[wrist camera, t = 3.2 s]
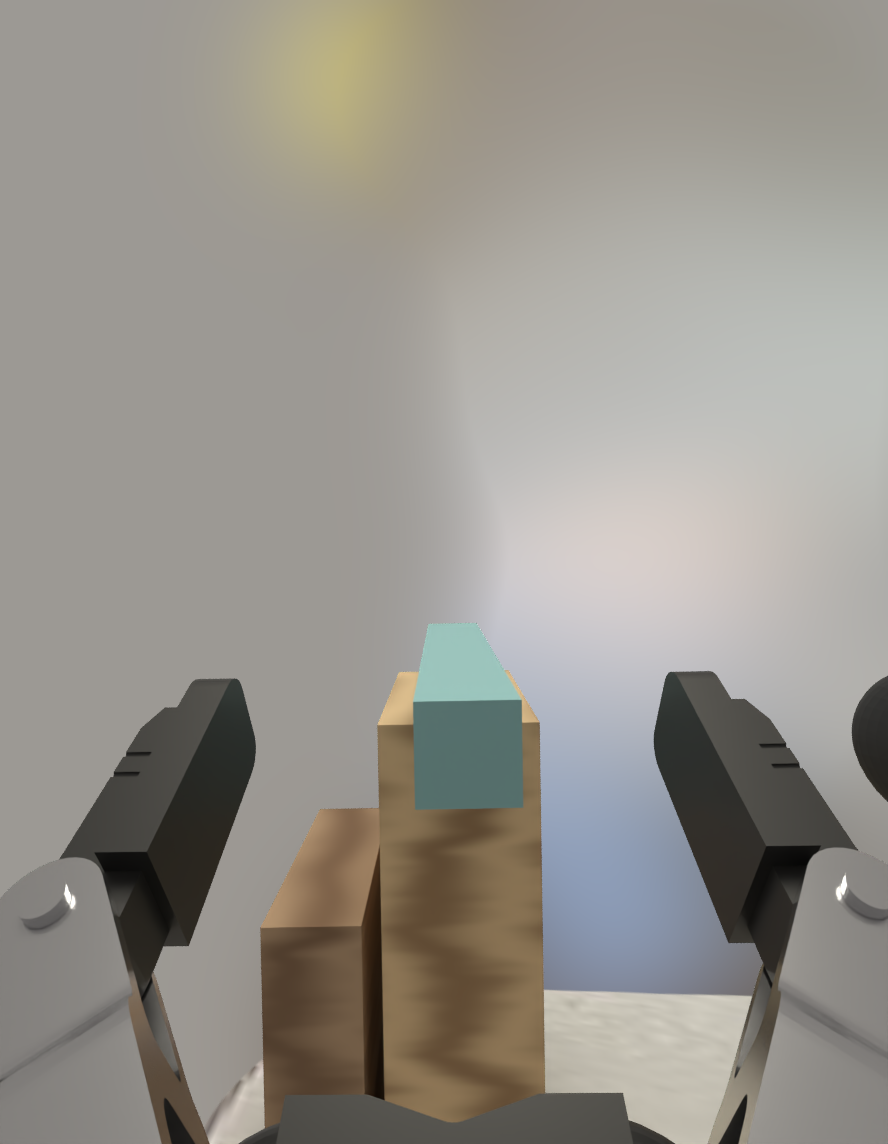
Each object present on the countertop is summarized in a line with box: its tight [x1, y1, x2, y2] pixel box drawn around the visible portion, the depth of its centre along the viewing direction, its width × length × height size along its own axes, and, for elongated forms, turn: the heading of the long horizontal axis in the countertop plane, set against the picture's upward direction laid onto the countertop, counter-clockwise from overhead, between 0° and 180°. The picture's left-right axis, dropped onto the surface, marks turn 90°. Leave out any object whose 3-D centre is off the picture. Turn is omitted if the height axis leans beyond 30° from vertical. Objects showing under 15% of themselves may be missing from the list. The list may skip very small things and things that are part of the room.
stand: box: [378, 670, 545, 1122], centre depth 36 cm, size 8×14×32 cm, turn 0°
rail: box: [413, 623, 523, 810], centre depth 31 cm, size 4×24×4 cm, turn 1°
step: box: [260, 808, 385, 1128], centre depth 36 cm, size 5×14×22 cm, turn 0°
